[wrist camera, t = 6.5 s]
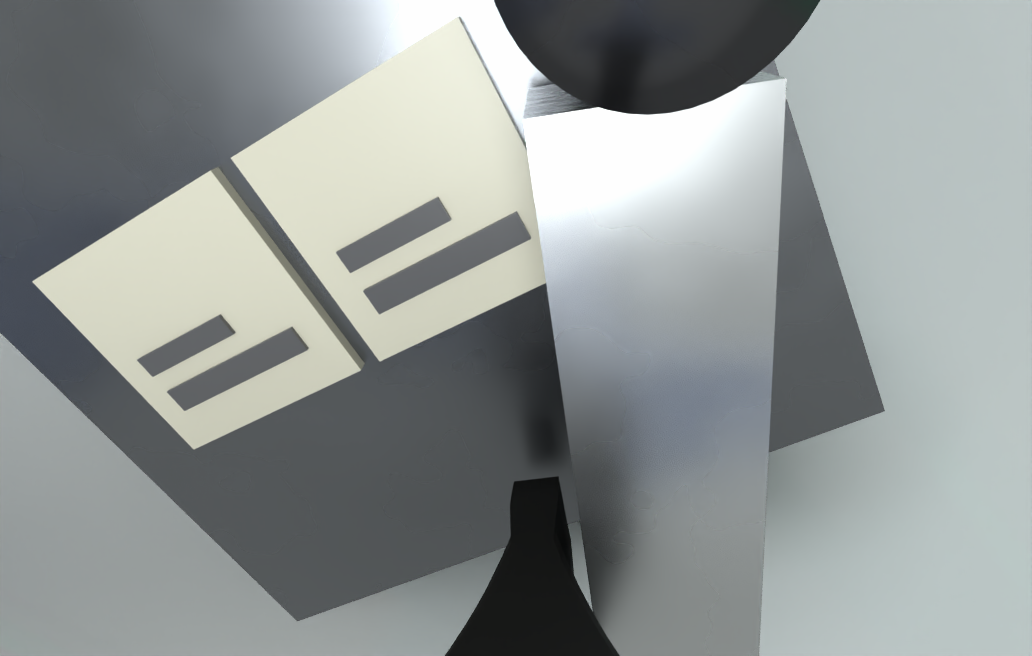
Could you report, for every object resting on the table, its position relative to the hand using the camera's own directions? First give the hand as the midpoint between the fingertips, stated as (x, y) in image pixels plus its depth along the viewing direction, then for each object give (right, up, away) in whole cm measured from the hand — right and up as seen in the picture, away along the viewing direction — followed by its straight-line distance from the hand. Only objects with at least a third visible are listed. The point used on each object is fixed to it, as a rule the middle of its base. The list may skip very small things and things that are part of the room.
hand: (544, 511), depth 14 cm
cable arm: (+2, +5, -1) cm, 5 cm away
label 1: (-7, +5, 0) cm, 9 cm away
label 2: (-3, +7, -1) cm, 7 cm away
